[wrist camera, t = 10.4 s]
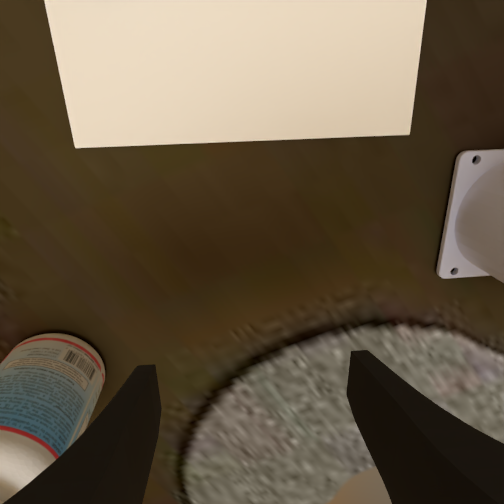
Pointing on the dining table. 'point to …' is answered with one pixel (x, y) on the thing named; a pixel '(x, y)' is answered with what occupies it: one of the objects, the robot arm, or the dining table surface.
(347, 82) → the paper
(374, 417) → the robot arm
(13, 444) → the pill bottle
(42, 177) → the dining table surface
